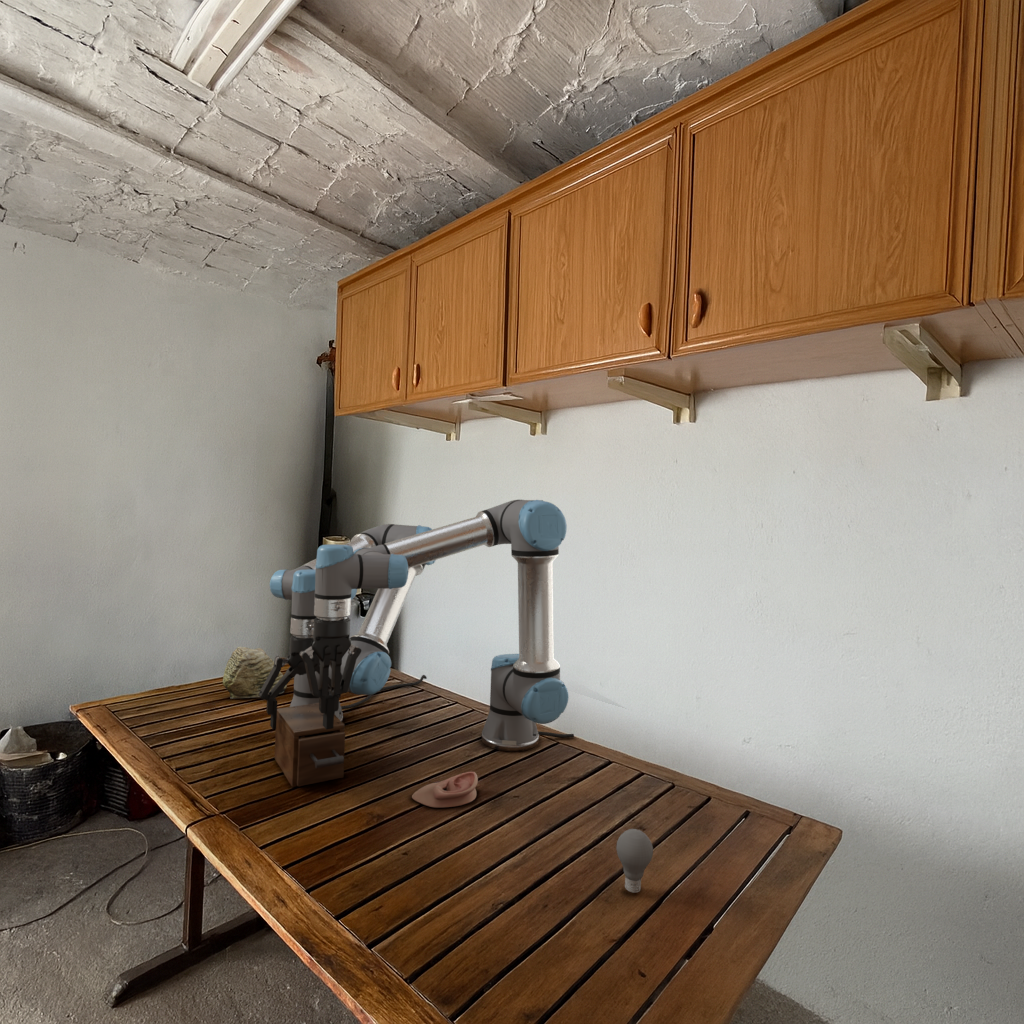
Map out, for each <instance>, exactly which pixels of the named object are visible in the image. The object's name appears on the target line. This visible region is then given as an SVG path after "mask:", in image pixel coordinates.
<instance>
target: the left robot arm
mask: <svg viewBox="0 0 1024 1024" xmlns="http://www.w3.org/2000/svg"><path fill="white" fill-rule="evenodd" d="M429 530H433V528H432V527H429V526H423V525H407V524H394V523H385V524H381V525H377V526H374V527H371V528H369V529H366V530H363V531H361V532H359V533H357V534H355V535H354V536H353V537H351V539H350V541H349V542H346V543H344V545H350V546H352V547H353V552H354V551H356V550H357V549H360V548H371V547H375V546H378V545H382V544H385V543H388V542H392V541H395V540H398V539H402V538H405V537H409V536H412V535H416V534H419V533H422V532H426V531H429ZM316 560H317V557H316V558H315V559H312V560H310V561H309V562H306V563H304V564H303V565H301V566H298V567H297V568H294V569H291V570H290V569H278V570H276V571H275V572H273V574H272V575H271V578H270V581H269V589H270V593H271V595H273V597H275V598H278V599H282V600H285V601H287V600H289V601H290V600H291V612H290V629H289V630H290V631H289V633H290V634H291V636H290V637H289V651H288V656H287V657H280V656H279V655H277V656H275V657H274V660H273V661H274V666H273V668H272V670H271V672H270V674H269V676H268V677H267V679H266V681H265V683H264V685H263V687H262V688H261V690H260V692H259V696H260V697H259V698H260V700H265V701H266V711H265V712H266V714H267V715H269V716H270V720H269V721H270V723H269V724H270V725H269V726H270V728H271V729H272V730H276V722H277V709H278V700H277V699H276V698H277V697H278V696H279V695H280V694H281V693H280V692H281V691H282V690H283V688H284V687H285V686H286V685H288V684H289V683H290V681H292V679H293V695H292V696H293V697H292V699H291V702H290V704H289V707H293V706H301V705H308V704H315V703H319V697H315V696H314V695H313V694H312V693H311V692H310V687H309V682H308V678H307V673H306V668H305V664H304V661H303V659H302V658H301V656H300V655H299V653H300V652H301V651H305V650H306V649H308V648H309V647H311V646H310V645H311V642H312V640H313V628H314V619H315V618H316V616H315V615H314V604H315V574H316V568H315V566H316ZM436 561H437V560H434V561H431V562H427V563H424V564H421V565H418V566H415V567H411V568H408V579H407V582H406V584H405V586H404V587H402V588H392V589H389V588H387V589H377V590H376V592H375V595H374V596H373V599H372V602H371V603H370V606H369V607H368V610H367V612H366V615H365V617H364V619H363V621H362V623H361V626H360V628H359V630H358V632H357V633H356V634H354V635H351V636H350V640H351V642H352V645H354V646H357V647H359V648H360V649H361V653H360V655H359V656H358V658H357V659H356V663H355V667H354V670H353V674H352V678H351V682H350V685H349V689H348V692H347V693H351V694H354V695H357V696H361V695H362V696H364V695H365V696H366V697H365V698H362V699H361V700H359V701H355V702H354V703H351V704H347V705H341V702H340V701H339V709H338V711H335V712H334V715H335V716H336V717H337V718H338V719H339V720H340V721H341V722H342V723H344V714H343V710H346V709H347V710H348V709H352V708H355V707H357V706H360V705H362V704H364V703H366V702H367V701H369V700H370V699H371V698H372V697H373V696H374V695H375V694H377V693H379V692H383V691H387V690H391V689H396V688H397V689H398V688H403V687H411V686H417V685H419V684H421V683H422V682H423V681H424V680H427V679H428V678H427V675H425V674H422V675H421V676H420V679H419V680H417V681H414V682H408V683H397V684H393V685H388V686H385V685H386V683H387V682H388V680H389V678H390V675H391V671H392V669H391V667H392V660H391V656H389V655H390V650H389V648H388V642H389V640H390V638H391V635H392V633H393V631H394V628H395V626H396V625H397V624H396V623H397V621H398V619H399V617H400V614H401V612H402V609H403V608H404V607H403V606H404V604H405V602H406V599H407V597H408V595H409V593H410V590H411V587H412V585H413V583H414V580H415V578H416V577H417V576H419V575H421V574H423V572H424V570H425V567H426V566H432V565H434V564H435V563H436ZM357 593H358V589H352V591H351V601H352V600H354V599H355V597H356V595H357ZM348 650H349V649H348ZM348 654H349V653H348V651H347V652H346V653H345V655H344V656H343V658H342V665H341V676H340V683H341V679H342V675H343V672H344V668H345V664H346V660H347V657H348ZM311 660H312V662H313V666H314V670H315V675H316V680H317V684H318V689H319V678H320V662H319V661H320V659H319V658H318V657H317V655H316V654H315V653H314V652H313V658H312V659H311ZM286 664H288V665H289V667H288V668H287V669H286V670H285V673H284V674H282V675H283V677H282V678H281V679H280V680H279V681H278V682H277V684H276V685H275V686H274V687H273V688H272V690H271V691H270V689H271V687H272V686H273V684H274V682H275V680H276V678H277V676H278V674H279V672H281V670H282V668H283V667H285V665H286ZM331 676H332V662H331V661H330V666H329V678H328V695H332V693H331ZM269 691H270V692H269ZM279 693H280V694H279Z"/></svg>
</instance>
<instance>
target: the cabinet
mask: <svg viewBox="0 0 1024 1024" xmlns="http://www.w3.org/2000/svg"><path fill="white" fill-rule="evenodd" d="M329 731H337V733H338V732H344V733H345V723H344V722H341V721H340V720H339V719H338V718H337V717H336V716H335V715H334V726H333V729H327V730H326V728H325V727H324V726H323V713H321V712H320V711H319V703H315V704H308V705H301V706H293V707H290V706H287V707H280V708H277V722H276V729H275V737H274V760H275V762H276V763H277V765H278V766H279V768H280V770H281V772H282V773H283V775H284V776H285V778H286V779H287V781H288V783H289V784H290V787H292V788H295V787H298V786H297V765H298V739H299V736H305V735H311V734H317V733H323V732H329Z"/></svg>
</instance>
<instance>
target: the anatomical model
mask: <svg viewBox="0 0 1024 1024" xmlns="http://www.w3.org/2000/svg"><path fill="white" fill-rule="evenodd" d="M478 777H479V776H478V775H477V772H475V771H466V772H463V773H462V772H461V773H459V774H456V775H454V776H451V777H448V778H445V779H444V780H441V781H438V782H433V783H429V784H426V785H424V786H421V788H419V789H417V790H416V791H414V792H413V794H412V795H411V799H412V800H414V801H415V802H417V803H419V804H421V805H423V806H427V807H428V808H429V807H430V808H435V809H439V808H452V807H459V806H464V805H466V804H469V803H471V802H473V801H474V800H475V799H476V798H477V795H478V794H477V789H476V787H477V786H478V783H479V782H478V781H479V778H478Z"/></svg>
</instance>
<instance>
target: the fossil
mask: <svg viewBox="0 0 1024 1024" xmlns="http://www.w3.org/2000/svg"><path fill="white" fill-rule="evenodd" d="M274 661H275V660H273V659H272V658H271V657H270V656H269V655H268V654H267V653H266V652H265V650H264V649H263V648H260V647H258V648H251V647H247V646H246V647H245V646H238V647H237V648H236V649H235V650H233V651H232V653H231V656H230V657H229V659H228V660H227V663H226V666H225V668H224V671H223V675H222V676H223V677H222V685H223V687H224V688H225V690H226V691H228V693H229V698H230V699H250V698H260V696H259V692H260V690H261V688H262V687H263V685H264V683H265V681H266V679H267V677H268V676H269V674H270V672H271V670H272V668H273V666H274ZM283 675H284V674H283V673H282V672H281V671H280V672H279V674H278V676H277V678H276V680H275V682H274V684H273V686H272V687H271V689H270V691H271V690H272V688H273V687H274V686H275V685H276V684H277V682H278V681H279V680H280V679H281V678H282V677H283ZM287 685H288V684H287ZM287 685H286V686H285V687H284V688H283V690H282V691H281V692H280V693H279V694H278V695H281V694H284V693H285V691H286V689H287V687H288V686H287ZM270 691H269V692H270Z"/></svg>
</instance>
